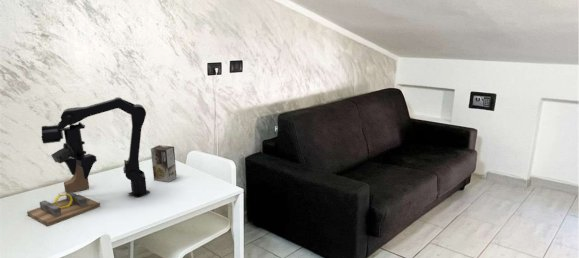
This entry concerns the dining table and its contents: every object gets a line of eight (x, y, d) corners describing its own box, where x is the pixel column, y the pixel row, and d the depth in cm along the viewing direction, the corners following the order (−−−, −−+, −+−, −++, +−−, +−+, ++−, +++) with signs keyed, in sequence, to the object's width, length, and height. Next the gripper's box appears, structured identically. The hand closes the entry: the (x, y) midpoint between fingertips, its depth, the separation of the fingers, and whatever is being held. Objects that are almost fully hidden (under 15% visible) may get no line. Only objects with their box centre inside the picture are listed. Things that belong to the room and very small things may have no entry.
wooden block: (67, 194, 167) (61, 155, 163) (64, 191, 170) (59, 152, 166) (89, 188, 173) (84, 151, 169) (86, 186, 176) (81, 148, 172)
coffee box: (177, 177, 186) (174, 146, 183) (169, 182, 180) (166, 150, 177) (161, 175, 189) (159, 144, 185) (153, 180, 183) (150, 148, 180)
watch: (71, 204, 154) (70, 190, 153) (73, 206, 152) (72, 192, 151) (54, 208, 149) (53, 194, 148) (57, 210, 148) (56, 196, 147)
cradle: (100, 206, 155) (98, 196, 154) (47, 226, 139) (46, 215, 138) (79, 197, 163) (77, 187, 162) (27, 215, 147) (25, 204, 146)
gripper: (40, 141, 150) (47, 178, 154) (65, 148, 141) (72, 187, 144) (68, 135, 159) (74, 170, 163) (94, 141, 150) (100, 178, 153)
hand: (79, 176), depth 156 cm, fingers open, 9 cm apart
